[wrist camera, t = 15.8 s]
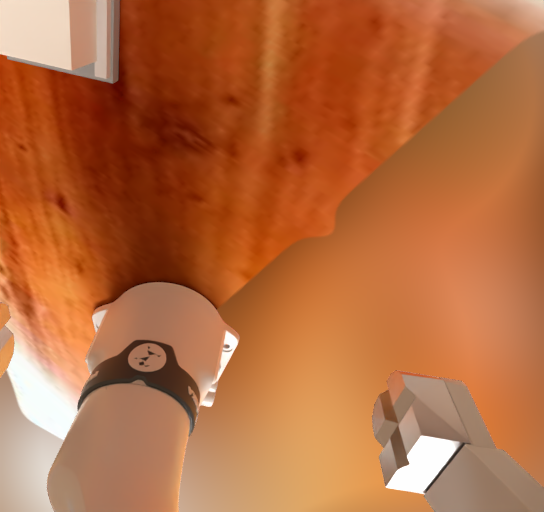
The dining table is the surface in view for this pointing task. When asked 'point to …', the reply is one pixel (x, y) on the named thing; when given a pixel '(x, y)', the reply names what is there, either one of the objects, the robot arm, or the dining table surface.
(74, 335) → the dining table surface
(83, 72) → the rail board
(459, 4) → the dining table surface
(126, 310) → the robot arm
